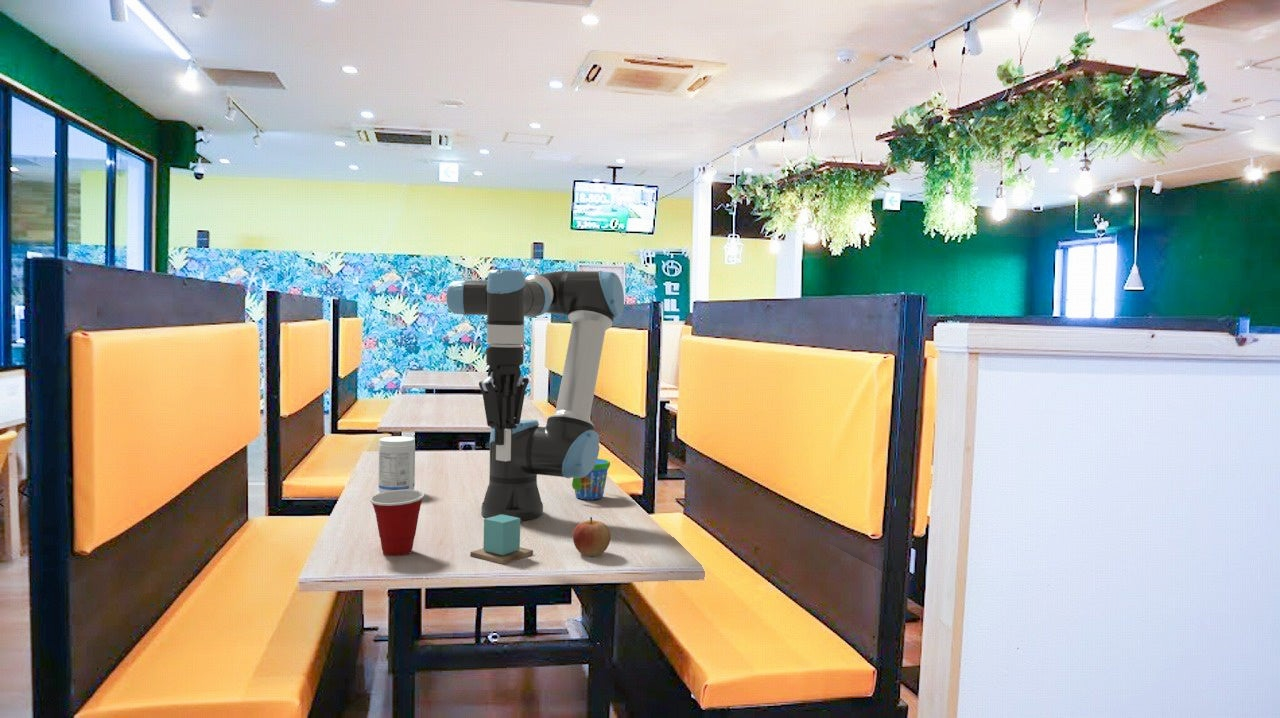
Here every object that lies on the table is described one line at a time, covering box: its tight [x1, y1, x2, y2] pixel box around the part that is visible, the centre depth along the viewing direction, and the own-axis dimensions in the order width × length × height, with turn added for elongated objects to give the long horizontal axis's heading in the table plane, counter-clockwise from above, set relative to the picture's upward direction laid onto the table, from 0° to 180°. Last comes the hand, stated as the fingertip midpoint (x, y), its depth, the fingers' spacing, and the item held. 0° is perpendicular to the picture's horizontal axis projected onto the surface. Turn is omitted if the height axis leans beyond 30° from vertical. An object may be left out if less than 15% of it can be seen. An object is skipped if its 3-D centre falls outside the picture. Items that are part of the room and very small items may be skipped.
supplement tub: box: [378, 435, 416, 493], centre depth 229 cm, size 10×10×15 cm
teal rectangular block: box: [482, 514, 521, 555], centre depth 172 cm, size 5×5×7 cm
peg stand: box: [469, 546, 534, 565], centre depth 172 cm, size 9×9×7 cm
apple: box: [572, 516, 612, 557], centre depth 175 cm, size 8×8×8 cm
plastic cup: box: [369, 489, 425, 557], centre depth 172 cm, size 11×11×12 cm
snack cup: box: [571, 458, 611, 501], centre depth 229 cm, size 16×10×10 cm
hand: (503, 460), depth 173 cm, fingers closed
